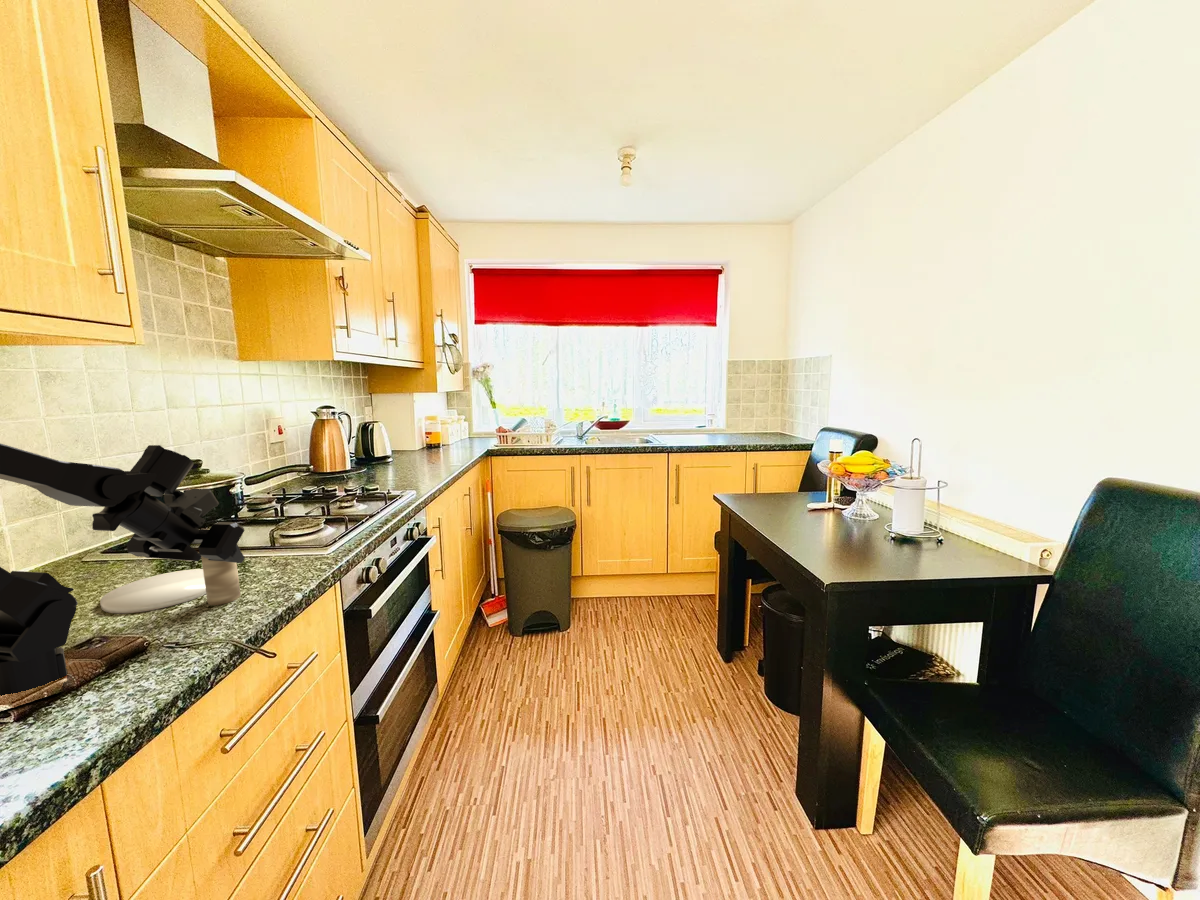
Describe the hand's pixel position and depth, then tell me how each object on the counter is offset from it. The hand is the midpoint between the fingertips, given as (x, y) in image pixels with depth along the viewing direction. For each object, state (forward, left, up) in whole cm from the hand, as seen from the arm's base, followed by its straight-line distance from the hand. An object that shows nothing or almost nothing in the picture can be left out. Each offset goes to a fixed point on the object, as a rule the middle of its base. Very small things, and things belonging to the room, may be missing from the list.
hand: (221, 559), depth 93 cm
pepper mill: (0, 0, -8) cm, 8 cm away
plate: (-7, +13, -8) cm, 17 cm away
